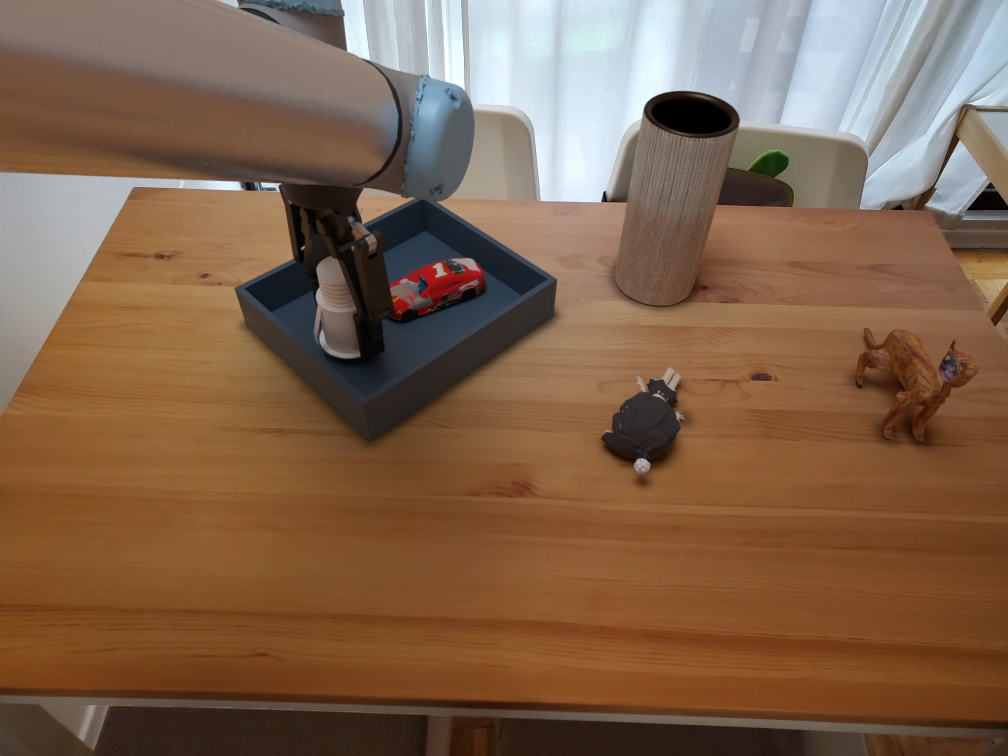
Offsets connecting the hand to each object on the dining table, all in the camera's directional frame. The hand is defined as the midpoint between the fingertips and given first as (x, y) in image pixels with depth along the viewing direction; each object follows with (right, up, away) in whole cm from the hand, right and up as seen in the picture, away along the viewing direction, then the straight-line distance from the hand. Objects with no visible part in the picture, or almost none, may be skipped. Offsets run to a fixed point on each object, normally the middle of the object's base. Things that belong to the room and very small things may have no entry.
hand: (351, 336), depth 81 cm
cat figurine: (+59, -6, -1) cm, 60 cm away
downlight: (0, 0, 0) cm, 0 cm away
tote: (+5, +2, +5) cm, 7 cm away
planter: (+36, +8, +11) cm, 39 cm away
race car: (+8, +5, +7) cm, 12 cm away
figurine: (+32, -10, -5) cm, 34 cm away
